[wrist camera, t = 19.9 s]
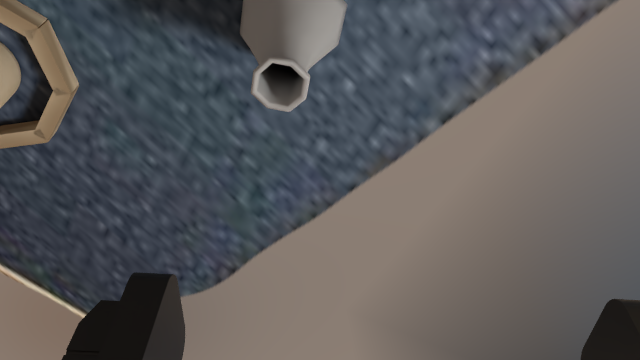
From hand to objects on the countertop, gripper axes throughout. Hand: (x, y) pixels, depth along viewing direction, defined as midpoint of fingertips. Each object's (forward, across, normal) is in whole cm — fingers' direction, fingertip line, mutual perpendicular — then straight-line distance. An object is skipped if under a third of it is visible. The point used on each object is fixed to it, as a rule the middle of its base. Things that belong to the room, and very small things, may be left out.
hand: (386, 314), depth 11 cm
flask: (+30, +4, +6) cm, 31 cm away
